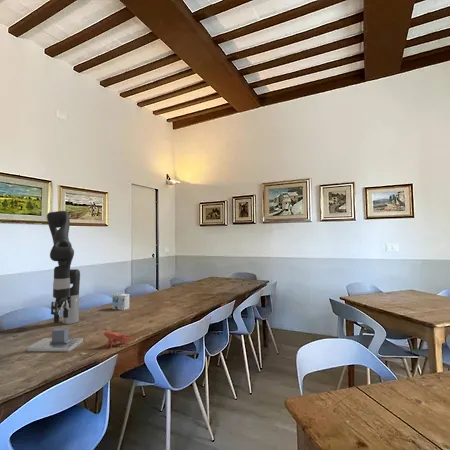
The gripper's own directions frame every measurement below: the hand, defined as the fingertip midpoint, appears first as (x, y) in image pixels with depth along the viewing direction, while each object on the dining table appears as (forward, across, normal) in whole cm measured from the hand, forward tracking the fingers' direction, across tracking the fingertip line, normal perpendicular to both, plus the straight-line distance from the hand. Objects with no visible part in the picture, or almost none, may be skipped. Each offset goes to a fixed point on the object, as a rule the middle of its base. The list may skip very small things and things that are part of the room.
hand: (61, 320), depth 155 cm
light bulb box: (+14, -82, +2) cm, 83 cm away
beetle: (+13, -2, +28) cm, 31 cm away
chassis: (+13, 0, -2) cm, 13 cm away
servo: (+12, 0, 0) cm, 13 cm away
